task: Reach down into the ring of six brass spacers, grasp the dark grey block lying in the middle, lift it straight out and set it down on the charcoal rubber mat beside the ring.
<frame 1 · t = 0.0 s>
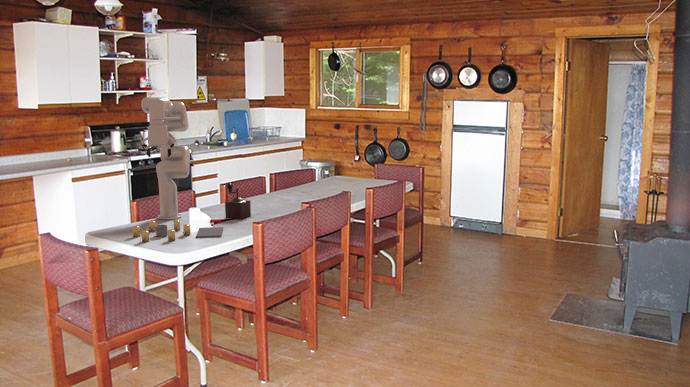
hand: (159, 156, 314), 37 cm above the table, tool pointing down, fingers open, 9 cm apart
dark brown coffee grinder: (235, 217, 345), on the table
dark grey block: (162, 235, 303), on the table
mat: (210, 233, 308), on the table
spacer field: (162, 235, 303), on the table
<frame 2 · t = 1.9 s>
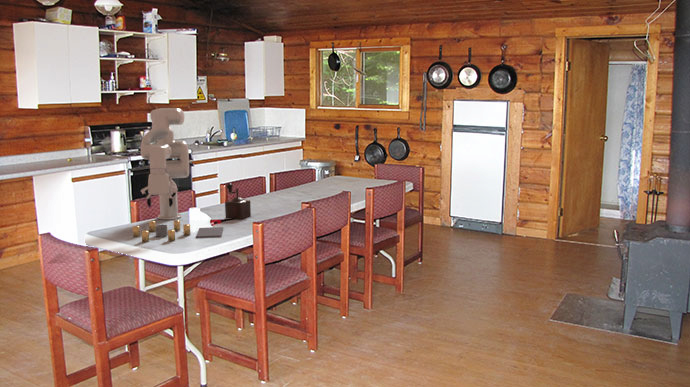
hand: (160, 206, 300), 15 cm above the table, tool pointing down, fingers open, 9 cm apart
nothing on the table moved.
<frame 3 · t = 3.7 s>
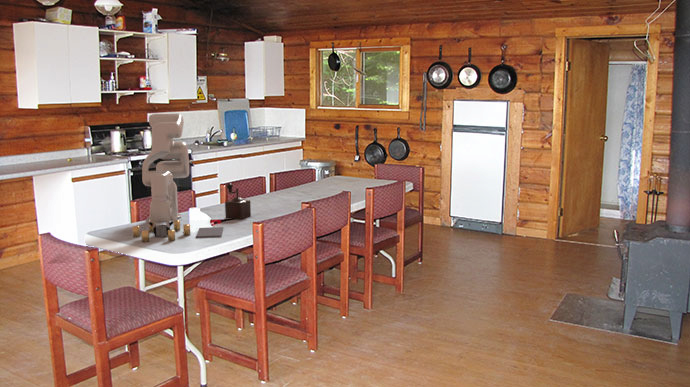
hand: (161, 234, 303), 0 cm above the table, tool pointing down, fingers closed on dark grey block, 5 cm apart
dark grey block: (162, 235, 303), on the table, touching gripper
everything else where it was.
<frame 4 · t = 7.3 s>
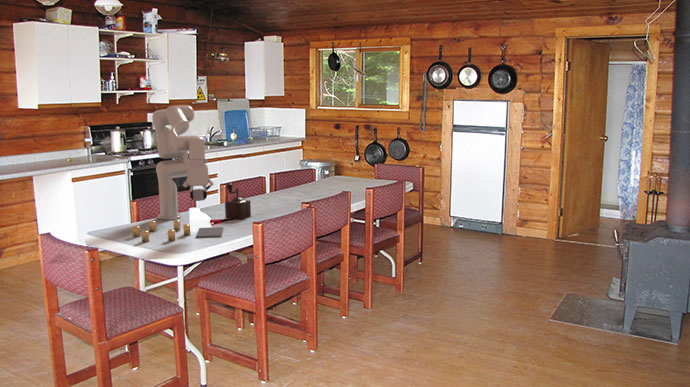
hand: (198, 198, 304), 18 cm above the table, tool pointing down, fingers closed on dark grey block, 5 cm apart
dark grey block: (198, 199, 304), point 17 cm above the table, touching gripper
everything else where it was.
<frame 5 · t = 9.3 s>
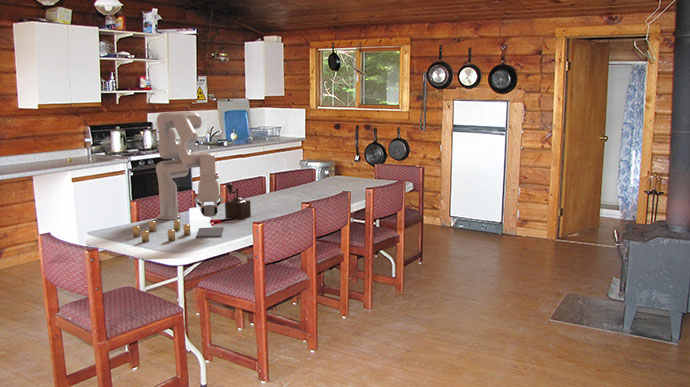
hand: (209, 214, 306), 9 cm above the table, tool pointing down, fingers closed on dark grey block, 5 cm apart
dark grey block: (209, 215, 306), point 9 cm above the table, touching gripper
everything else where it was.
when the fingers open (3 cm above the table, at t = 10.9 s): dark grey block drops 2 cm, resting on mat.
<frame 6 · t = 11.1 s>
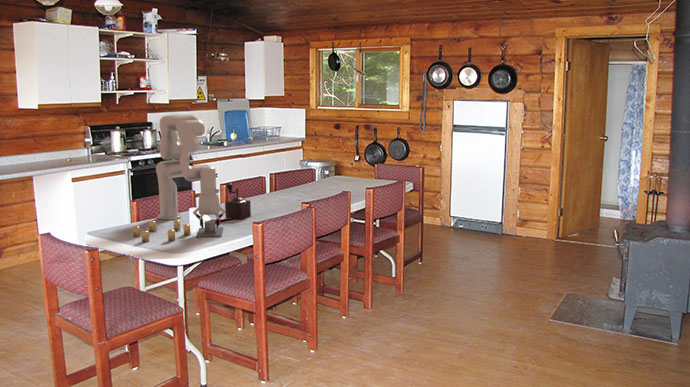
hand: (209, 226, 307), 3 cm above the table, tool pointing down, fingers open, 6 cm apart
dark grey block: (210, 231, 308), point 1 cm above the table, touching mat
everything else where it was.
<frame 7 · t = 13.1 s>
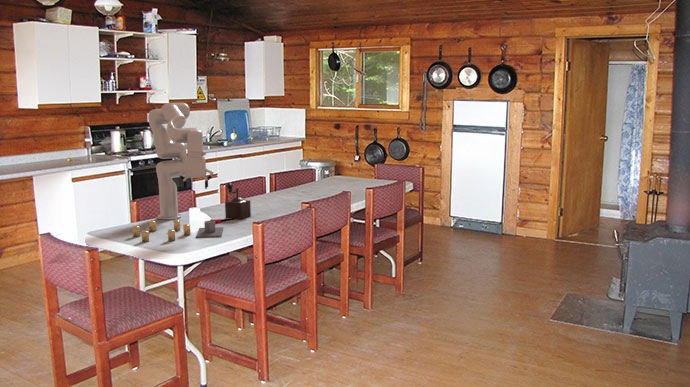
hand: (196, 188, 309), 22 cm above the table, tool pointing down, fingers open, 9 cm apart
nothing on the table moved.
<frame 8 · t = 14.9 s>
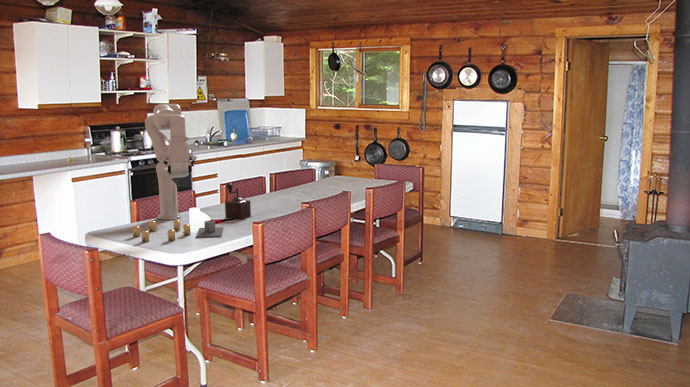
hand: (179, 173, 314), 28 cm above the table, tool pointing down, fingers open, 9 cm apart
nothing on the table moved.
at the end: dark grey block inside the target area on the mat (0.0 cm from its centre), point 0.8 cm above the mat's base; dark grey block tilted 0°; the gripper is holding nothing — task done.
